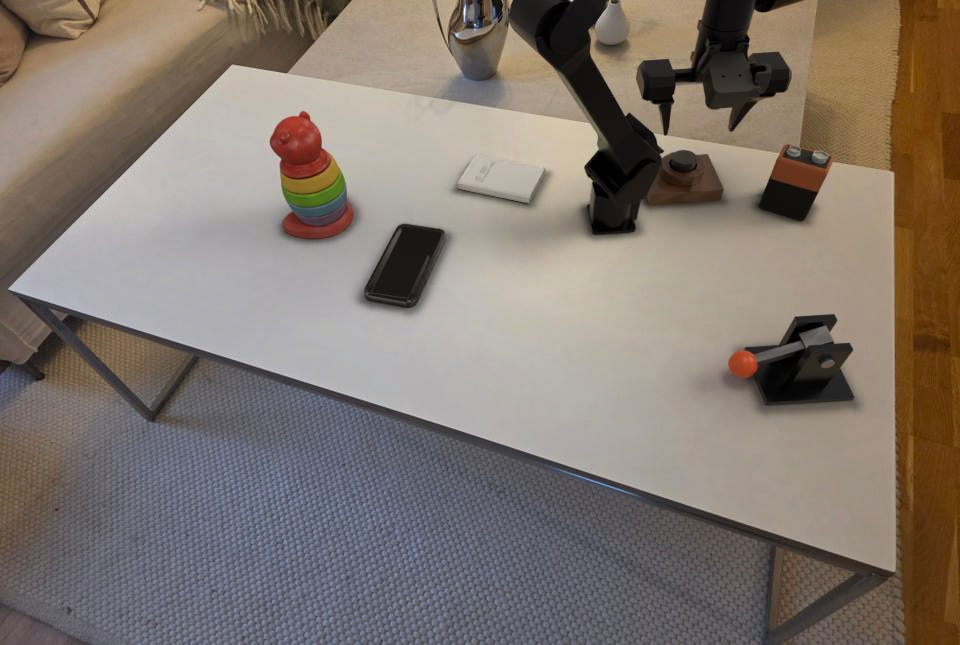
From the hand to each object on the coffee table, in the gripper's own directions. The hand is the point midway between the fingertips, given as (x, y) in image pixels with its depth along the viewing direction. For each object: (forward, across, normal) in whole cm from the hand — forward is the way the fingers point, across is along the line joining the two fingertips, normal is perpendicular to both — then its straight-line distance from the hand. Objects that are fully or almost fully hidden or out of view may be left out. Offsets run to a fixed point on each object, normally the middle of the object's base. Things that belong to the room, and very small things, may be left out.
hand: (697, 132), depth 84 cm
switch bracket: (+11, +6, -35) cm, 37 cm away
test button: (+8, 0, +2) cm, 8 cm away
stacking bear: (+11, -57, -2) cm, 58 cm away
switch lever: (+7, +3, -35) cm, 36 cm away
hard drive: (+11, -28, +5) cm, 31 cm away
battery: (+11, +14, -4) cm, 19 cm away
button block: (+11, 0, +2) cm, 11 cm away
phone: (+11, -43, -13) cm, 46 cm away
